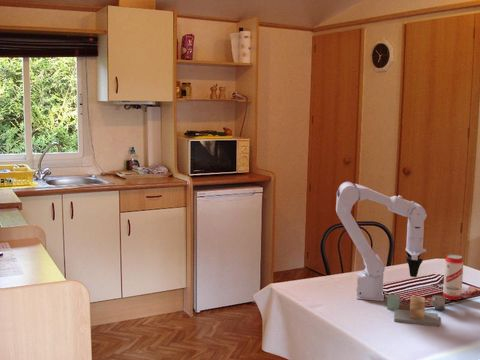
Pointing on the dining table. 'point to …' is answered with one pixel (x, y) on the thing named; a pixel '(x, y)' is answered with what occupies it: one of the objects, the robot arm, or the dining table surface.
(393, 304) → the olive green cube
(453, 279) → the beer can
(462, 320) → the dining table surface
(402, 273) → the dining table surface
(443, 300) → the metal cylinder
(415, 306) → the oak block
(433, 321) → the slate board
